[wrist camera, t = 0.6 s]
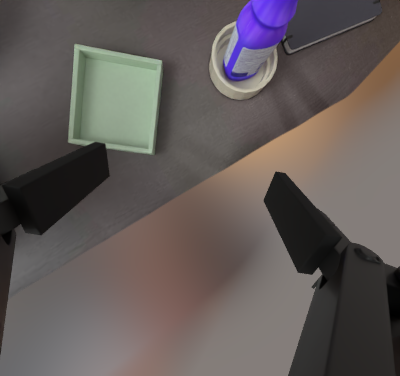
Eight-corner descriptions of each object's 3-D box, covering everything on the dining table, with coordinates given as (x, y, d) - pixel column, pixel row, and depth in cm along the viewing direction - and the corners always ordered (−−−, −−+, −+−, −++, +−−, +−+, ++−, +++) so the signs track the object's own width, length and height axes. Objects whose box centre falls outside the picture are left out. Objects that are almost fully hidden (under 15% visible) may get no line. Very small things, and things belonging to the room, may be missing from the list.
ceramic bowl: (213, 30, 33) (216, 13, 30) (272, 43, 34) (282, 28, 31) (205, 94, 34) (207, 85, 30) (263, 105, 35) (272, 97, 32)
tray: (83, 54, 31) (74, 43, 29) (163, 69, 33) (161, 60, 30) (76, 144, 32) (67, 142, 30) (154, 155, 34) (152, 153, 31)
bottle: (253, 49, 34) (326, -81, 17) (259, 78, 34) (336, -18, 17) (218, 56, 33) (256, -70, 16) (225, 86, 34) (269, -5, 17)
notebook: (357, -44, 35) (264, -9, 34) (365, -55, 33) (268, -18, 32) (374, 19, 36) (286, 56, 35) (383, 12, 35) (291, 50, 33)
